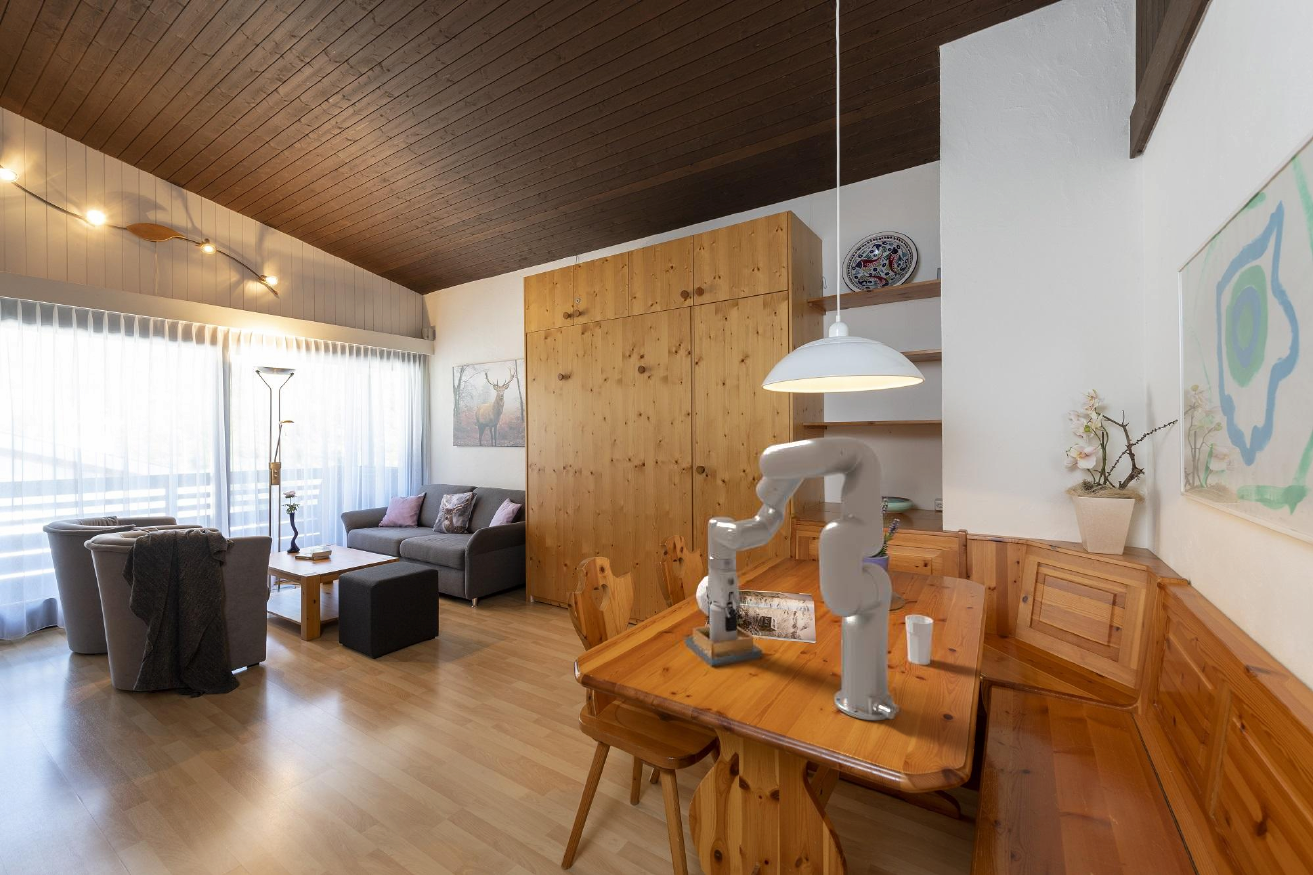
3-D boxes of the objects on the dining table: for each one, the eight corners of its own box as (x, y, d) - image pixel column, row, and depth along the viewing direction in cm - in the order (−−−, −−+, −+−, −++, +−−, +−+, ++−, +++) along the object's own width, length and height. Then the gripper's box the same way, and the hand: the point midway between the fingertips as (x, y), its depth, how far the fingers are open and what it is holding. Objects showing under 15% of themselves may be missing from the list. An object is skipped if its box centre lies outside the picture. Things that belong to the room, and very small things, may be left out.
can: (736, 650, 151) (736, 605, 151) (708, 648, 152) (708, 604, 152) (737, 639, 158) (737, 597, 158) (711, 637, 160) (710, 595, 159)
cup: (906, 653, 153) (906, 613, 152) (933, 658, 150) (933, 617, 149) (904, 662, 147) (904, 621, 147) (932, 668, 144) (932, 625, 143)
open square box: (761, 657, 151) (761, 638, 151) (711, 666, 145) (711, 647, 145) (731, 636, 166) (731, 619, 166) (685, 644, 160) (685, 626, 160)
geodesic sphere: (690, 588, 193) (694, 562, 184) (731, 587, 195) (737, 560, 186) (696, 627, 182) (701, 601, 173) (740, 625, 183) (747, 599, 174)
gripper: (750, 569, 148) (750, 633, 149) (719, 554, 164) (719, 613, 165) (725, 572, 146) (725, 637, 146) (695, 557, 162) (696, 616, 162)
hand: (722, 624), depth 156 cm, fingers open, 9 cm apart
